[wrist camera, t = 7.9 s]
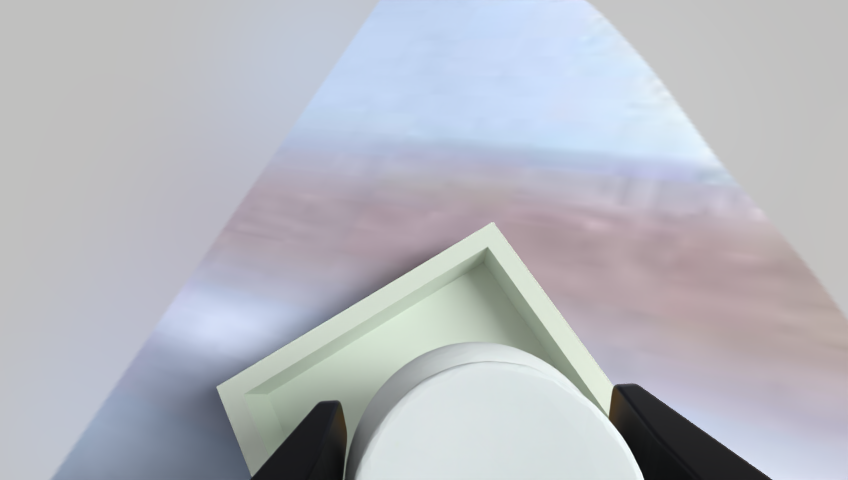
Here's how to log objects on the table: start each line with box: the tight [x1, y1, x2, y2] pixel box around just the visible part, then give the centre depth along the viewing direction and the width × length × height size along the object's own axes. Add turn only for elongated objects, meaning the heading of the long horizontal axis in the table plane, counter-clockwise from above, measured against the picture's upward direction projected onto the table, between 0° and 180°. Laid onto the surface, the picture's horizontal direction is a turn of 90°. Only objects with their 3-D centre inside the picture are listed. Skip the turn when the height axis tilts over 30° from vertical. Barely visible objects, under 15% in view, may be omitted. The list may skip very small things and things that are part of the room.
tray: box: [217, 222, 614, 480], centre depth 16 cm, size 13×13×3 cm
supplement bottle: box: [344, 342, 644, 480], centre depth 10 cm, size 5×5×10 cm
